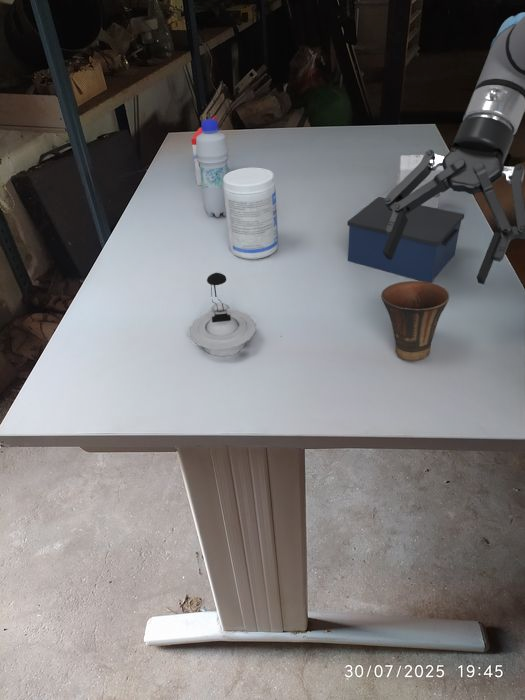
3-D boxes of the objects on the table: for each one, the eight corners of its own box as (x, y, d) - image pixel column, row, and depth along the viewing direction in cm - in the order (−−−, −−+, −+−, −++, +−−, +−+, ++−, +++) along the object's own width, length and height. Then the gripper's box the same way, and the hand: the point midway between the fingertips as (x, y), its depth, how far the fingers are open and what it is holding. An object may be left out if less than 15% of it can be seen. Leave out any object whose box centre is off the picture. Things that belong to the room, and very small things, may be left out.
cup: (397, 324, 84) (404, 267, 78) (450, 346, 79) (462, 288, 73) (363, 350, 79) (368, 292, 73) (417, 376, 74) (427, 316, 68)
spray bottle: (204, 173, 141) (197, 114, 132) (222, 173, 140) (217, 114, 131) (196, 186, 134) (188, 124, 125) (216, 186, 133) (209, 124, 124)
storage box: (459, 254, 100) (466, 214, 95) (433, 285, 92) (440, 243, 87) (373, 234, 109) (376, 196, 104) (343, 260, 101) (345, 220, 96)
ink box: (436, 226, 110) (445, 169, 103) (393, 224, 112) (399, 168, 104) (434, 208, 117) (442, 154, 109) (394, 207, 118) (399, 153, 111)
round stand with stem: (248, 252, 79) (179, 259, 78) (255, 287, 71) (179, 295, 71) (253, 320, 87) (191, 327, 86) (260, 359, 79) (192, 367, 78)
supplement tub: (287, 252, 104) (285, 178, 95) (243, 266, 101) (236, 190, 92) (263, 234, 111) (259, 162, 102) (221, 246, 108) (213, 173, 99)
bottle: (220, 204, 124) (210, 113, 112) (239, 212, 120) (232, 118, 108) (197, 214, 121) (185, 120, 108) (217, 222, 117) (206, 126, 104)
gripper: (399, 104, 79) (345, 238, 79) (587, 125, 67) (523, 283, 67) (409, 131, 85) (359, 255, 85) (582, 155, 73) (524, 299, 73)
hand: (431, 268), depth 76 cm, fingers open, 13 cm apart
